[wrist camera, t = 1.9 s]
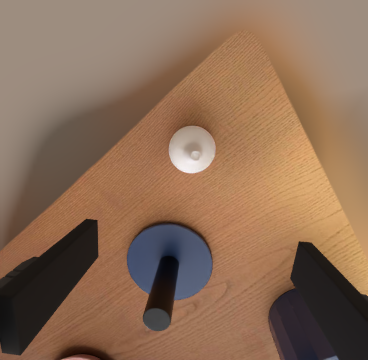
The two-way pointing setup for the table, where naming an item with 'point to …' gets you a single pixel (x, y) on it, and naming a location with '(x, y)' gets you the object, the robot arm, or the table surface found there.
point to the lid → (168, 269)
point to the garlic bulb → (192, 149)
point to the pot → (297, 330)
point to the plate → (81, 357)
